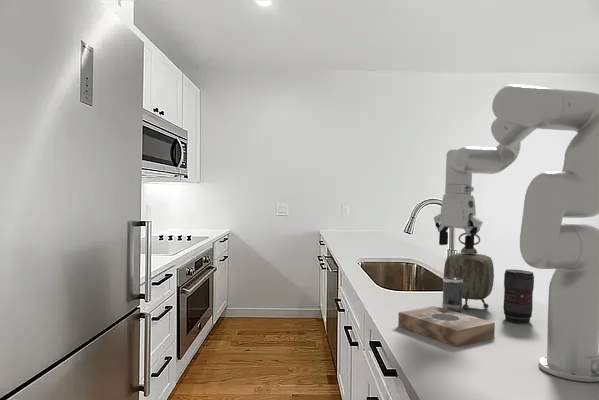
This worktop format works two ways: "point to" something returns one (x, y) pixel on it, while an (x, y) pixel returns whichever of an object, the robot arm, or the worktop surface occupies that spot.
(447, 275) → the tabletop clock
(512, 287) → the camera lens
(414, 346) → the worktop surface
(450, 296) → the shiny metal canister
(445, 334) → the mount board
